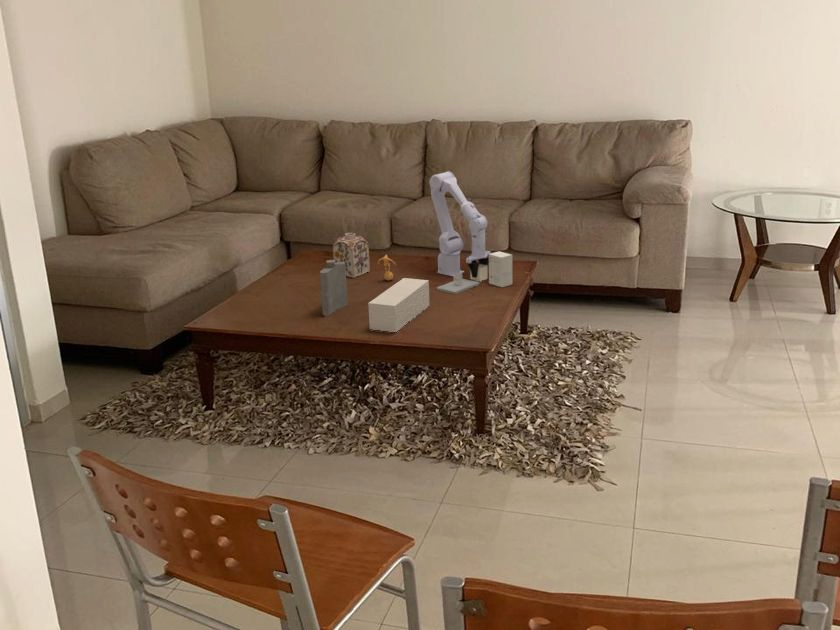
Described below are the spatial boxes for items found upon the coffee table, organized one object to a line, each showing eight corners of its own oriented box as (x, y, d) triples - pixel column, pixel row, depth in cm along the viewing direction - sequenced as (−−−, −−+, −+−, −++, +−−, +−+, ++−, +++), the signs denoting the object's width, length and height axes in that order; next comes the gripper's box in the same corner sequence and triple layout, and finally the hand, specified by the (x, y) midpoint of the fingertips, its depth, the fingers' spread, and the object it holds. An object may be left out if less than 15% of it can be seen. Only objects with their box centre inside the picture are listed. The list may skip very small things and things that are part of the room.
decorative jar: (350, 268, 402) (348, 229, 396) (370, 271, 395) (368, 232, 389) (333, 274, 393) (330, 235, 387) (353, 278, 386) (351, 238, 380)
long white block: (404, 303, 353) (403, 277, 349) (429, 306, 349) (428, 280, 345) (369, 330, 325) (368, 302, 322) (396, 333, 321) (395, 305, 318)
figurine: (399, 279, 383) (398, 252, 379) (394, 283, 378) (393, 256, 374) (381, 278, 385) (380, 251, 381) (376, 282, 380) (375, 255, 376)
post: (453, 285, 370) (453, 273, 368) (457, 283, 372) (457, 272, 370) (458, 286, 368) (458, 274, 366) (462, 284, 370) (462, 273, 368)
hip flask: (328, 316, 340) (324, 266, 334) (319, 315, 342) (315, 265, 335) (349, 304, 354) (346, 256, 347) (340, 303, 355) (337, 255, 349)
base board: (436, 289, 368) (436, 287, 367) (460, 280, 379) (460, 278, 379) (455, 294, 361) (455, 291, 361) (479, 284, 373) (479, 282, 372)
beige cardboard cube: (470, 279, 380) (470, 266, 378) (477, 276, 383) (477, 263, 381) (479, 281, 376) (479, 268, 374) (487, 278, 380) (487, 265, 378)
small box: (512, 284, 372) (512, 254, 367) (501, 287, 368) (501, 257, 363) (499, 280, 377) (499, 250, 373) (488, 283, 374) (488, 253, 369)
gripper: (475, 250, 367) (475, 281, 372) (496, 242, 377) (496, 273, 382) (462, 247, 372) (462, 278, 376) (483, 240, 382) (483, 270, 386)
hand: (478, 275), depth 379 cm, fingers closed on beige cardboard cube, 5 cm apart
